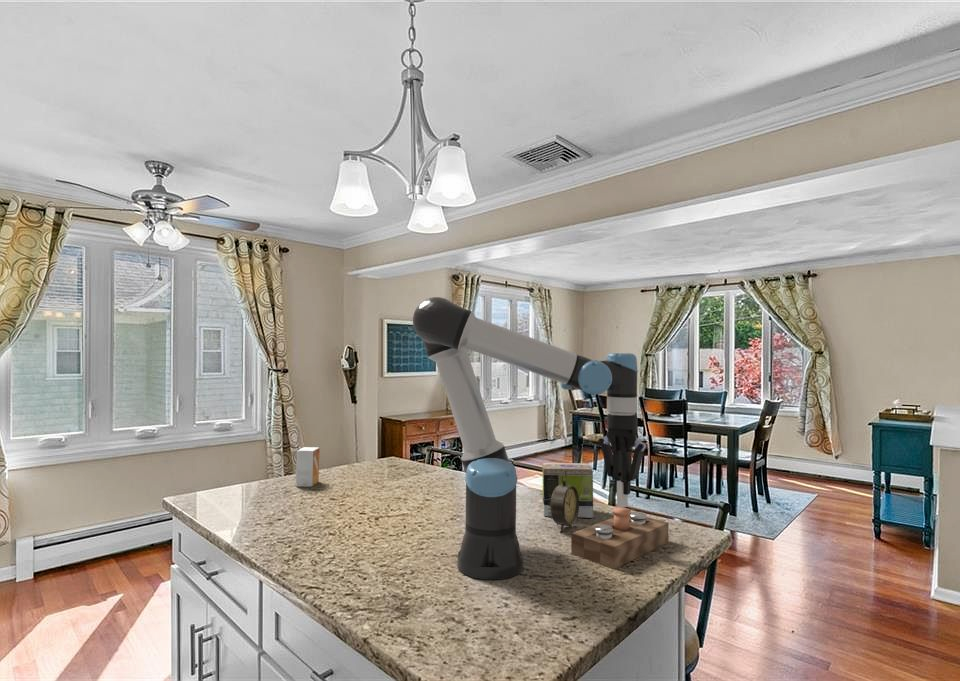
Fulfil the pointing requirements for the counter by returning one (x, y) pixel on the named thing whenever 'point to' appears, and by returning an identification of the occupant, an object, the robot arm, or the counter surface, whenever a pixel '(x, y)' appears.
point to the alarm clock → (564, 504)
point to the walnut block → (619, 542)
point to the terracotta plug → (621, 519)
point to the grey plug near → (604, 531)
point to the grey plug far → (638, 518)
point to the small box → (307, 466)
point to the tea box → (575, 476)
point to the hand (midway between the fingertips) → (622, 506)
